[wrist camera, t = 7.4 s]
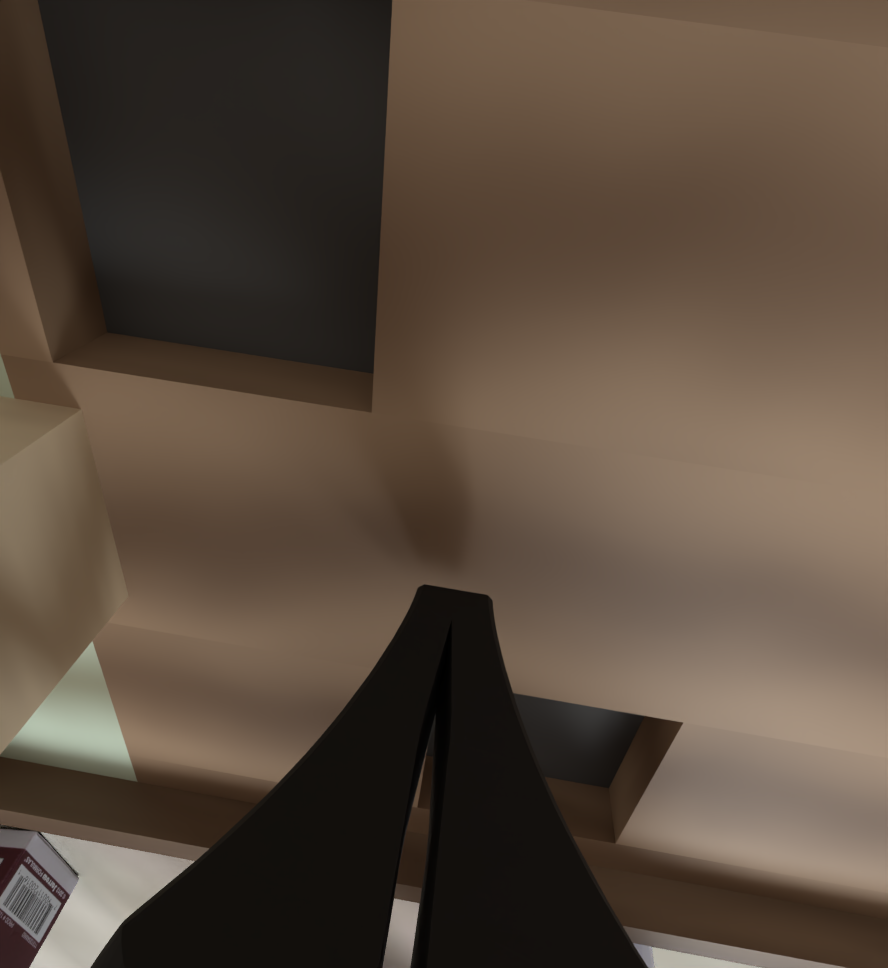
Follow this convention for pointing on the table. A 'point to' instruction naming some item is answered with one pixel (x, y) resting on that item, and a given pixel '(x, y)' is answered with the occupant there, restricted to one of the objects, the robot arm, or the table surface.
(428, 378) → the trap box
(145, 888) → the table surface
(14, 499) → the block
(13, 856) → the supplement box
